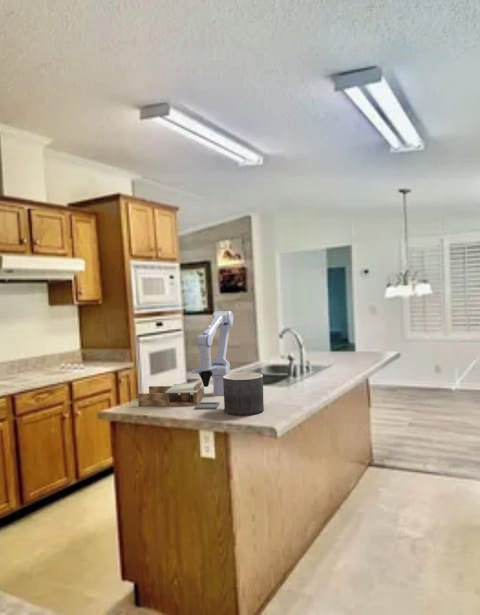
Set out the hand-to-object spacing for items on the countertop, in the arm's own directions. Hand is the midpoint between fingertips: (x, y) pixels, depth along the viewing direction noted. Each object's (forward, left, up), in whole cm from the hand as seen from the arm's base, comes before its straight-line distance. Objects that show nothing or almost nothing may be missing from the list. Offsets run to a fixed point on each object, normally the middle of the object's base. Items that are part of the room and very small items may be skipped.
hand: (206, 386), depth 240 cm
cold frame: (+17, 0, -7) cm, 19 cm away
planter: (-21, +19, -8) cm, 29 cm away
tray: (-3, +12, -7) cm, 14 cm away
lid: (+10, 0, -1) cm, 11 cm away
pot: (+10, 0, -7) cm, 13 cm away
